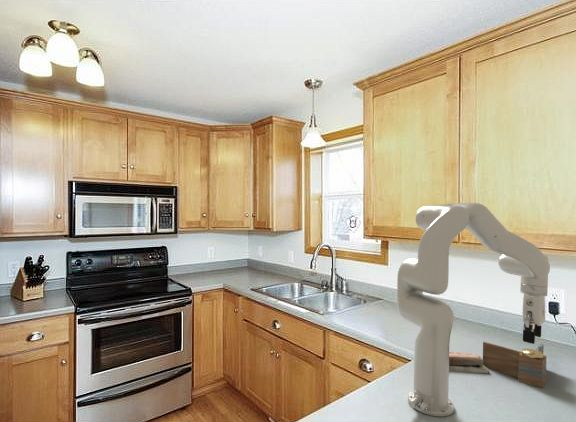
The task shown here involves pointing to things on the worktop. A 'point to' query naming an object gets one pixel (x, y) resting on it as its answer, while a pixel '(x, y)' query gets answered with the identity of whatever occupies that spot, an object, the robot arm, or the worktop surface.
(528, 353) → the hinge pin
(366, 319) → the worktop surface
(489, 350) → the hinge
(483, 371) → the packaged product
